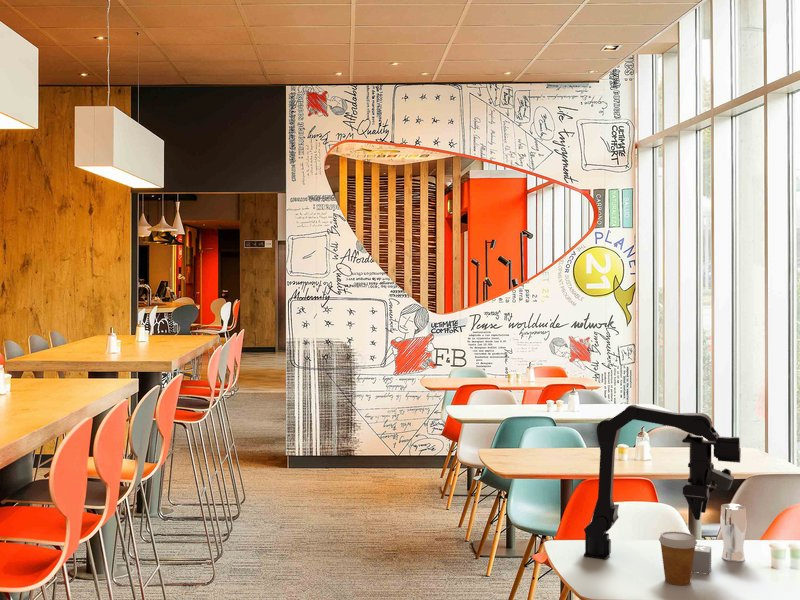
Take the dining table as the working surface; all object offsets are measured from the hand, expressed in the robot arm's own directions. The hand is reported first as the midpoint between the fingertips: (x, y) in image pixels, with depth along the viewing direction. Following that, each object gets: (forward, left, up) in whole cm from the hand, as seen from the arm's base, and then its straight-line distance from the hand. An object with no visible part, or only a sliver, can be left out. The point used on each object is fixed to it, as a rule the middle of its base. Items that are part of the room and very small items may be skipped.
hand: (700, 516), depth 228 cm
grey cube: (0, -1, -15) cm, 15 cm away
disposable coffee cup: (-4, -14, -15) cm, 21 cm away
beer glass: (+8, +14, -15) cm, 22 cm away
